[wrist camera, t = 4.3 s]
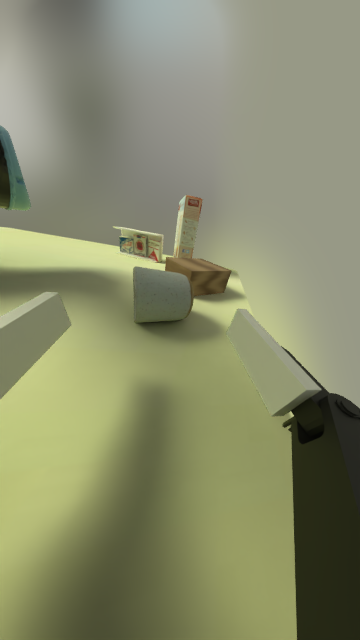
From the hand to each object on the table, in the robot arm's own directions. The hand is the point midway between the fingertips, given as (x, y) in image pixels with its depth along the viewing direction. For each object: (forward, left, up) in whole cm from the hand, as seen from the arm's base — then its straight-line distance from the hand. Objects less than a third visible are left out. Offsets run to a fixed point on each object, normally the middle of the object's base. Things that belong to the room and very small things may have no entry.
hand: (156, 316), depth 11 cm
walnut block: (+21, +18, -7) cm, 28 cm away
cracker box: (+33, +41, -7) cm, 53 cm away
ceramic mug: (+5, +10, -7) cm, 13 cm away
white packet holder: (+18, +51, -7) cm, 54 cm away
